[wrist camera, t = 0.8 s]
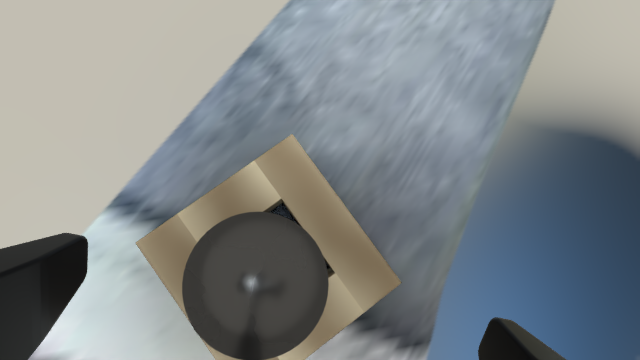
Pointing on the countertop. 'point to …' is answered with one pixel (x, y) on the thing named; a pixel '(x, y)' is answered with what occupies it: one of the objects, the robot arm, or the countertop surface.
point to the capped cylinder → (255, 286)
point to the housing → (309, 212)
